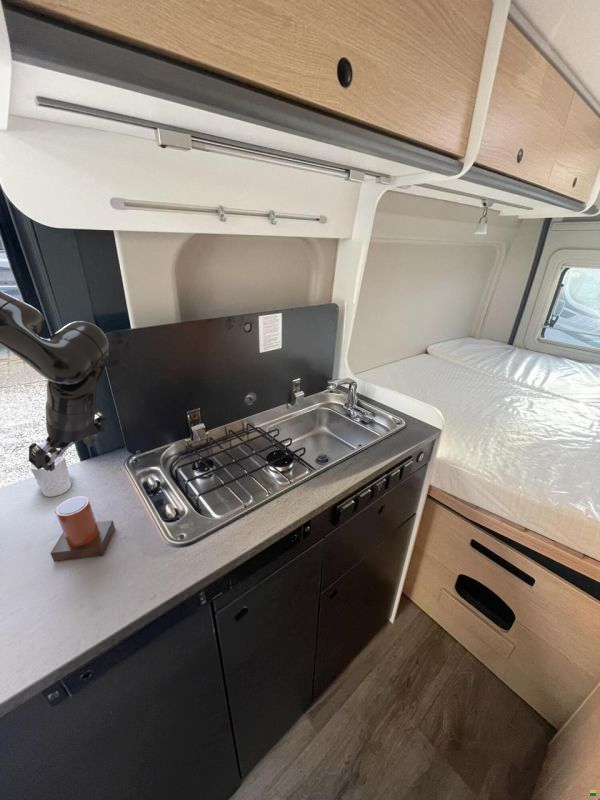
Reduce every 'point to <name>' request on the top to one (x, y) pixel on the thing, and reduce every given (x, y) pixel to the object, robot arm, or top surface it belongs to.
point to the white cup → (53, 478)
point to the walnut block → (88, 550)
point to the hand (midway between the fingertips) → (69, 455)
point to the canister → (77, 521)
